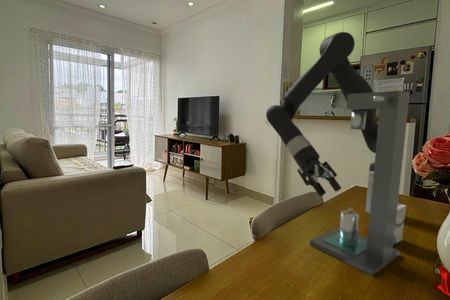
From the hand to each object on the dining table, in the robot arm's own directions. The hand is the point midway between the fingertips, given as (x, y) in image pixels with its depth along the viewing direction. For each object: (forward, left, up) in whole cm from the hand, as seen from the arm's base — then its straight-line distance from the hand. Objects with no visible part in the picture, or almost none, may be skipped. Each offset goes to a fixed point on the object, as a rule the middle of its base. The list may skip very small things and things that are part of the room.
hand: (331, 192), depth 77 cm
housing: (0, +6, -14) cm, 15 cm away
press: (+1, +8, -15) cm, 17 cm away
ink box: (-15, +11, -16) cm, 24 cm away
